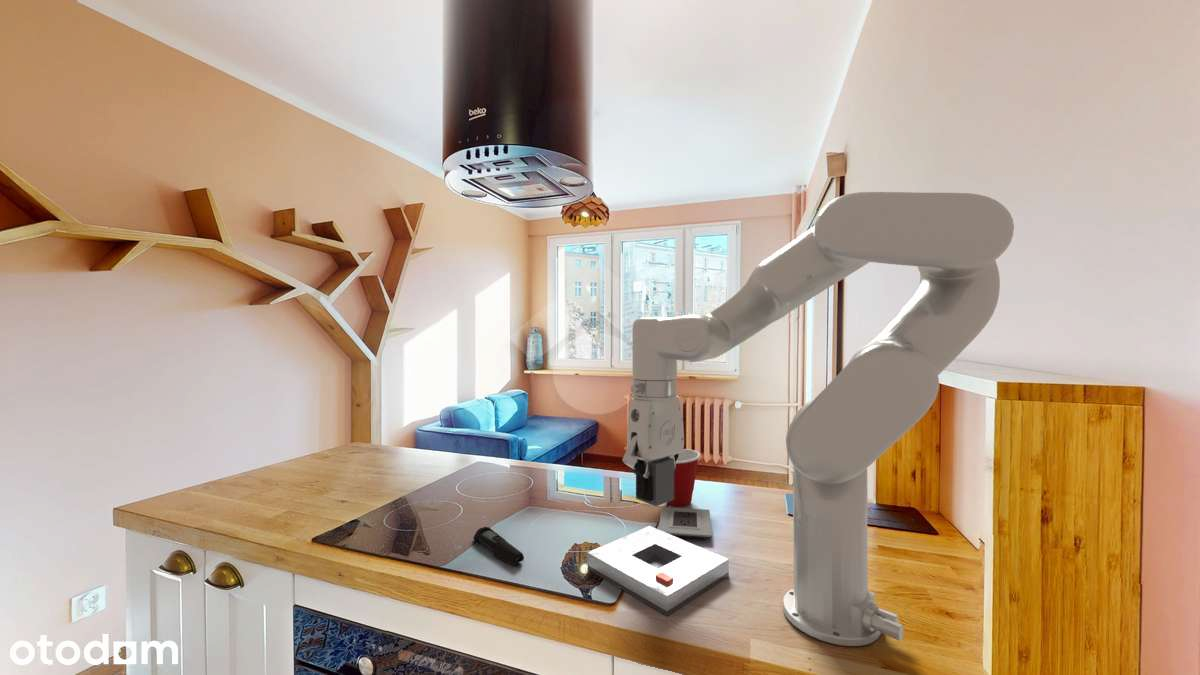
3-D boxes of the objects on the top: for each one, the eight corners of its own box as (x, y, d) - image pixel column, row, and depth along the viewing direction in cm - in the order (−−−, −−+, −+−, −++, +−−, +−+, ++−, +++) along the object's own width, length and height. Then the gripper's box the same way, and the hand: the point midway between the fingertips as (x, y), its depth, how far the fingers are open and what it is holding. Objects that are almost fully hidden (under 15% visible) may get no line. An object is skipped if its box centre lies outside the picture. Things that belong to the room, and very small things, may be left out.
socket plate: (728, 576, 77) (728, 555, 77) (666, 616, 66) (666, 592, 66) (649, 540, 90) (649, 522, 90) (587, 569, 80) (587, 548, 80)
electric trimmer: (510, 574, 80) (510, 556, 80) (471, 542, 92) (471, 526, 91) (528, 566, 82) (528, 549, 82) (489, 536, 94) (489, 521, 94)
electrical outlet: (712, 546, 89) (712, 533, 89) (658, 542, 91) (657, 530, 91) (709, 519, 102) (709, 508, 102) (662, 516, 104) (661, 505, 104)
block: (674, 499, 78) (673, 458, 78) (656, 506, 75) (655, 464, 75) (653, 492, 82) (653, 453, 82) (635, 498, 79) (635, 458, 78)
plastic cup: (651, 495, 115) (650, 448, 115) (692, 493, 116) (692, 446, 116) (661, 512, 104) (660, 460, 104) (707, 510, 106) (706, 458, 106)
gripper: (635, 396, 70) (636, 515, 70) (702, 387, 81) (702, 489, 81) (603, 391, 75) (603, 501, 76) (669, 383, 86) (669, 479, 87)
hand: (654, 494), depth 78 cm, fingers closed on block, 4 cm apart
